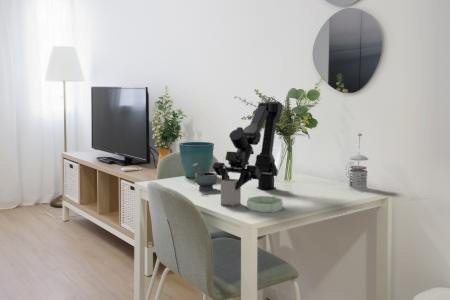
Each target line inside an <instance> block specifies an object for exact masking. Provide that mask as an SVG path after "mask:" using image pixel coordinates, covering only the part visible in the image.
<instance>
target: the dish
mask: <svg viewBox="0 0 450 300" xmlns="http://www.w3.org/2000/svg"><path fill="white" fill-rule="evenodd" d="M283 203H284V199H283V198H280V197H276V196H272V195H256V196H251V197H250V196H249V197H248V199H247V200H246V208H247V209H248V210H249V211H251V212H252V211H253V212H257V213H275V212H280V211H281V210H283V205H284V204H283Z"/></svg>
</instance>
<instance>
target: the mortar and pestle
mask: <svg viewBox="0 0 450 300" xmlns="http://www.w3.org/2000/svg"><path fill="white" fill-rule="evenodd" d="M193 168H194V169H195V171H196V174H195V178H194V179H195V182H196V184H197V185H198V186H199V187H198V189H199V191H203V192H204V191H207V192H208V191H212V190H214V188H213V186H214V185H215V184H216V182H217V178H218V175H217V174H216V172H212V171H209V172H202V170H201V169H200V167H199V164H198V163H196V164H194V165H193Z"/></svg>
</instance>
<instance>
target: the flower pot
mask: <svg viewBox="0 0 450 300" xmlns="http://www.w3.org/2000/svg"><path fill="white" fill-rule="evenodd" d="M178 146H179V147H178V149H179V156H180V158H179V159H180V162H181V165H182V167H183V168H182V169H183V171H184V176H185V177H187V178H190V179H191V178H193V179H195V174H196V171H195V169H194V168H193V165H194V164H196V163H198V164H199V167H200V169H201V170H202V172H210V169H211V166H212V162H213V158H214V148H215V147H214V146H215V143H214V142H209V141H185V142H179V143H178Z"/></svg>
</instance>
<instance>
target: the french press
mask: <svg viewBox="0 0 450 300" xmlns="http://www.w3.org/2000/svg"><path fill="white" fill-rule="evenodd" d="M362 136H363V134H362V133H360V132H359V133H357V137H359V138H358V141H359V142H358V148H361V146H360V144H361V143H360V141H361V137H362ZM349 160H352V162H351V161H349V162H348V163H347V164H346V167H345V169H347V173H345V175H346V177H347V178H348V186H347V187H345V188H346V190H347V189H348V190H352V191H357V192H359V191H360V192H361V191H363V192H364V191H369V188H368V183H367V182H368V180H367V179H368V170H366V169H367V167H366V166H364V165H363V166H362V165H359V164H360V161H368V160H369V158H368V157H367V156H365V155H363V154H360V153H358V154H354V155H352V156H349ZM353 161H357V162H358V164H357V165H354V162H353ZM348 165H349V166H348ZM347 166H348V168H347Z"/></svg>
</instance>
